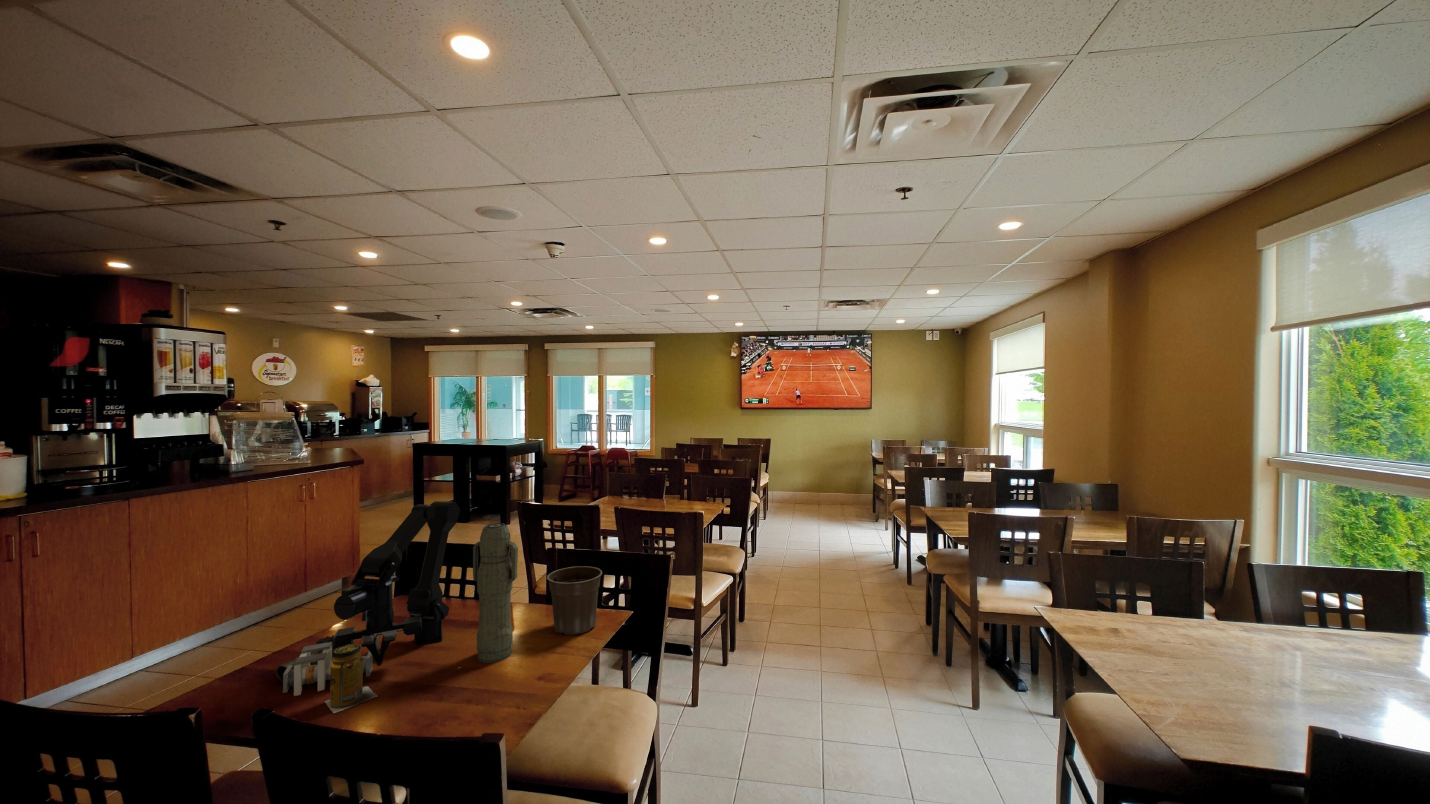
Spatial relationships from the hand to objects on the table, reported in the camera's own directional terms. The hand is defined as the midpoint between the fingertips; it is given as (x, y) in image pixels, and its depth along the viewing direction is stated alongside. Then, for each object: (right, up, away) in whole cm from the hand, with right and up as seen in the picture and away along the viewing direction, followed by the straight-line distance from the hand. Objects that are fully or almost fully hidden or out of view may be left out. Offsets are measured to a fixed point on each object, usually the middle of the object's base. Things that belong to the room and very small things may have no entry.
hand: (379, 665), depth 131 cm
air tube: (-9, -1, -5) cm, 10 cm away
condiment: (+2, -1, -13) cm, 13 cm away
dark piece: (-18, -2, +3) cm, 19 cm away
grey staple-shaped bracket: (-12, -1, -6) cm, 14 cm away
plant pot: (+43, -2, +26) cm, 50 cm away
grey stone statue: (+26, -2, +8) cm, 27 cm away
